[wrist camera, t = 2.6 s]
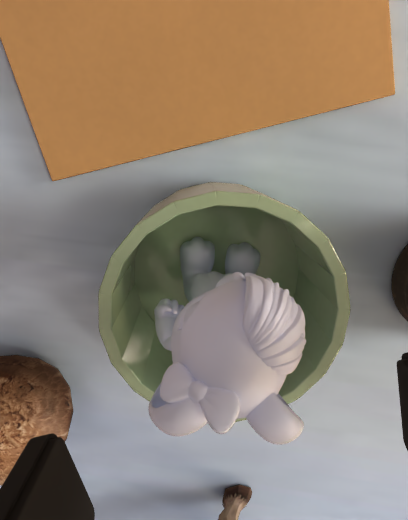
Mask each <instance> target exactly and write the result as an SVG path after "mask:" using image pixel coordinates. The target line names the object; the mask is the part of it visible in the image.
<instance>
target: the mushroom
mask: <svg viewBox="0 0 408 520" xmlns="http://www.w3.org/2000/svg"><path fill="white" fill-rule="evenodd" d="M72 415H73V406H72V399H71V391H70V387H69V385H68V384H67V382H66V381H65V379H64V378H63V376H62V375H61V373H60V372H59V370H58V369H57V368H55V367H53V366H52V365H50V364H48V363H46V362H44V361H42V360H41V359H39V358H32V357H26V356H20V355H9V356H0V485H3V484H4V482H5V480H6V478H7V477H8V475H9V473H10V472H11V470H12V468H13V467H14V465H15V463H16V462H17V460H18V458H19V456H20V455H21V453H22V451H23V450H24V448H25V446H26V445H27V443H28V441H29V440H30V439H31V438H33V437H38V436H42V435H46V434H51V433H54V434H56V435H57V437H58V438H59V437H61V438H62V439H63V440H64V442H65V441H66V439H67V436H68V432H69V427H70V423H71V419H72Z"/></svg>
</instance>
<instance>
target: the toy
mask: <svg viewBox="0 0 408 520" xmlns="http://www.w3.org/2000/svg"><path fill="white" fill-rule="evenodd" d="M251 495H252V491H251V488H250V487H246V486H242V485H236V486H233V487H230V488H226V489H225V492H224V495H223V504H224V505H223V504H222V505H223V507H224V508H225V509H224V510H223V511H222V512H221V514H220V515H219V519H218V520H238V517H239V514H240V511H241V510H242V509H243V508H245V507H246V505H247V503H248V502H249V500H250V498H251ZM244 506H245V507H244Z"/></svg>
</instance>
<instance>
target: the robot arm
mask: <svg viewBox="0 0 408 520" xmlns="http://www.w3.org/2000/svg"><path fill="white" fill-rule="evenodd" d="M397 373H398V384H399V395H400V406H401V417H402V428H403V439H404V443H405V446H406V448H407V450H408V353H404V354H403V355H402V360H399V361H398V362H397ZM0 520H94V507H93V505H92V502H91V500H90V498H89V496H88V494H87V491H86V489H85V487H84V485H83V482H82V480H81V478H80V476H79V473H78V471H77V469H76V467H75V464H74V462H73V460H72V458H71V455H70V453H69V451H68V449H67V447H66V444H65V442H64V440H63V439H62V438H61V437H59V438H58V437H57V435H56V434H54V433H51V434H46V435H42V436H38V437H33V438H31V439H30V440H29V441H28V443H27V445H26V446H25V448H24V450H23V451H22V453H21V455H20V456H19V458H18V460H17V462H16V463H15V465H14V467H13V468H12V470H11V472H10V473H9V475H8V477H7V478H6V480H5V482H4V484H3V485H2V487H1V489H0Z"/></svg>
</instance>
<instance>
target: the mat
mask: <svg viewBox="0 0 408 520" xmlns="http://www.w3.org/2000/svg"><path fill="white" fill-rule="evenodd" d="M0 38H1V41H2V44H3V46H4V49H5V52H6V55H7V57H8V60H9V63H10V66H11V68H12V71H13V74H14V77H15V79H16V82H17V85H18V88H19V90H20V93H21V96H22V99H23V102H24V104H25V107H26V110H27V113H28V115H29V118H30V121H31V124H32V126H33V129H34V132H35V135H36V137H37V140H38V143H39V146H40V148H41V151H42V154H43V157H44V159H45V162H46V165H47V168H48V170H49V173H50V176H51V179H52V181H56V180H60V179H64V178H68V177H72V176H76V175H80V174H84V173H88V172H92V171H96V170H100V169H104V168H107V167H111V166H115V165H119V164H123V163H127V162H131V161H135V160H139V159H143V158H147V157H151V156H155V155H159V154H163V153H166V152H170V151H174V150H178V149H182V148H186V147H190V146H194V145H198V144H202V143H206V142H210V141H214V140H218V139H222V138H226V137H229V136H233V135H237V134H241V133H245V132H249V131H253V130H257V129H261V128H265V127H269V126H273V125H277V124H281V123H285V122H288V121H292V120H296V119H300V118H304V117H308V116H312V115H316V114H320V113H324V112H328V111H332V110H336V109H340V108H344V107H347V106H351V105H355V104H359V103H363V102H367V101H371V100H375V99H379V98H383V97H387V96H391V95H394V94H395V86H394V71H393V57H392V43H391V28H390V14H389V0H0Z"/></svg>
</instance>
